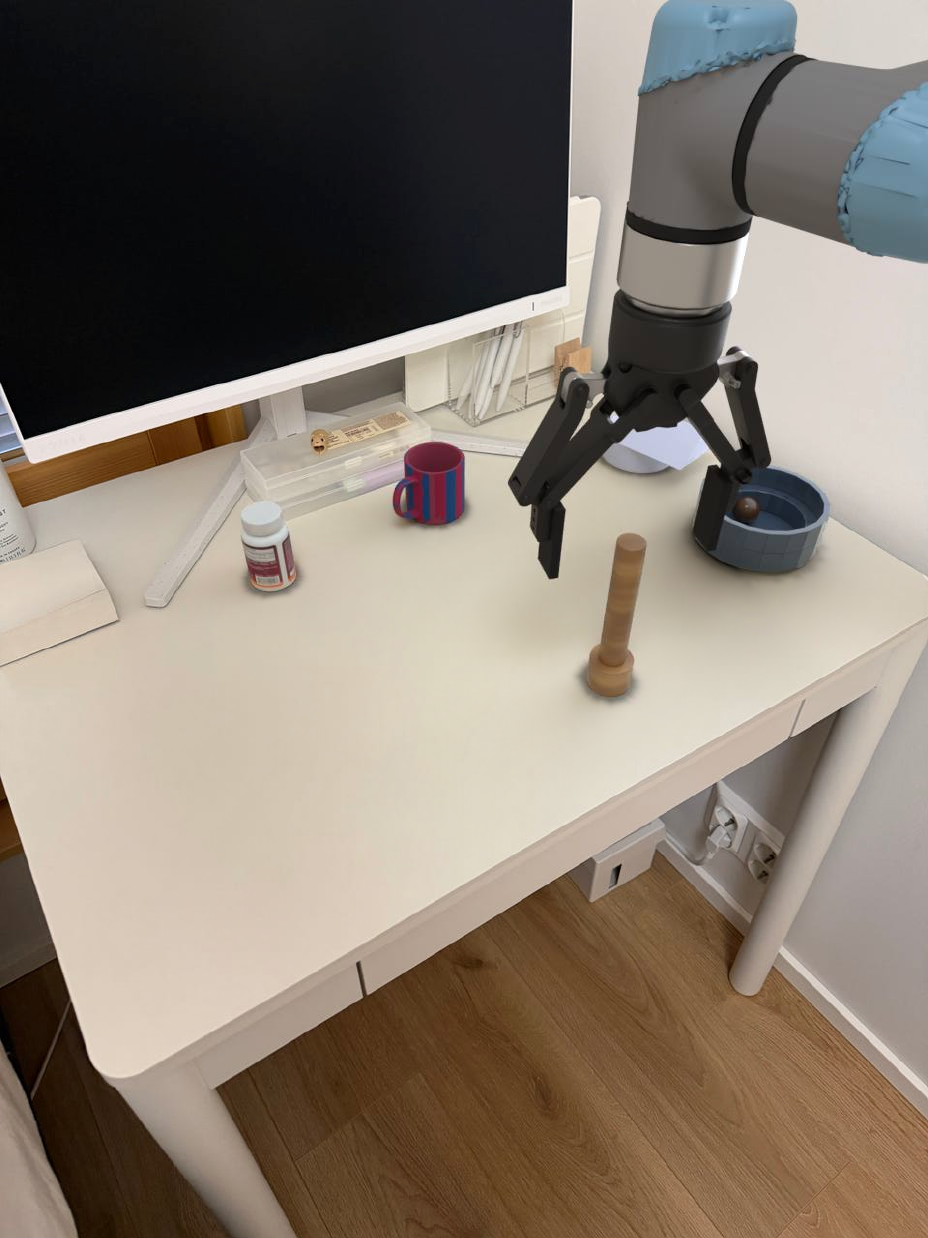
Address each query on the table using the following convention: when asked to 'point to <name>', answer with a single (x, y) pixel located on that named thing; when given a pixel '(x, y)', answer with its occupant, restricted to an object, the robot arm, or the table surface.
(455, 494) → the mug
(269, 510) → the pill bottle
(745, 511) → the bead
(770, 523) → the bowl
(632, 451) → the wedge on round base
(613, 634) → the muddler
